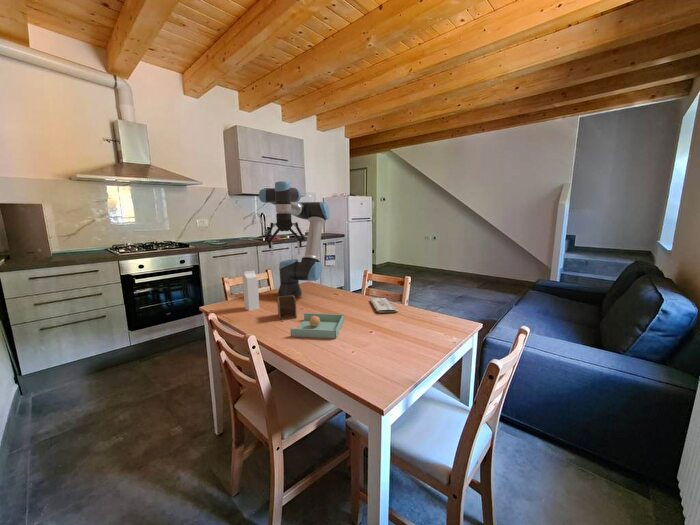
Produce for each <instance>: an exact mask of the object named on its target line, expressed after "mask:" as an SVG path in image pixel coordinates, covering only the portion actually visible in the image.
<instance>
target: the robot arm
mask: <svg viewBox="0 0 700 525" xmlns="http://www.w3.org/2000/svg"><path fill="white" fill-rule="evenodd" d="M258 198H259V200H260V202H261V203H264V204H265V203H266V204H267V203H268V204H269V203H270V204H271V205H274V206H275V212H276V214H275V217H276V223H275V222H270V225H269V226H270V227H269V229H268V231H267V234H266V236H265V237H264V242H267V244H268V249H269V250H271V251H270V252H271V256H273V255H274V250H273V240H274V238H275V237H276V236H277V235H278V233H279V232H289V231H290V232H291V233H292V235H293V236H294V237H295V238H296V239H297V240H298V241H297V243H296V244H297V254H298V255H300V254H301V251H300V250H301V248H302V245H303V244H302V243H303V241H305V240H306V245H305V250H304V255H303V257H301V260H300V261H299V260H298V259H297V258H292V259H286V260H283V261H282V260H281V261H280V262H279V265H278V266H279V267H278V269H279V288H278V291H277V297H279V296H290V295H294V297H295V298H299V297H300V296H302V295H303V292H302V288H301V286H300V282H299V281H307V282H316V281H318V280H319V279H320V277H321V276H322V271H323V269H322V268H323V265H322V262H320V261H321V260H320V259H319V254H320V253H319V252H320V246H321V239H322V233H323V225H325V224H326V220H329V219H330V217H331V213H330V207H329V205H328V203H327V202H326V201H309V202H308V201H301V202H300V200H301V198H302V192H301V190H299V189H298V188H296V187H291V183H290V182H289V181H281V180H280V181H275V183H274V187H273V188H272V187H270V188H267V187H266V188H261V189H259V192H258ZM292 216H294V217H296V218H298V219H301V220H306V221H308V222H309V227H308V233H307V238H305V236H304V234H303V233H302V231H301V228H300V227H299V222H296V221H295V222H292V220H293V219H292ZM275 226H276V228H277V229H276V230H275V232H274V233H273V234H272V235H271V232H272V230H273V228H274V227H275ZM292 227H294V228H295V229H296V231H297V232H298V234H297V233H296V232H295V231H294V229H292ZM270 235H271V236H270ZM299 236H300V237H299ZM269 237H270V238H269Z"/></svg>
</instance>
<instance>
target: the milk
mask: <svg viewBox="0 0 700 525" xmlns="http://www.w3.org/2000/svg"><path fill="white" fill-rule="evenodd" d="M258 280H259V279H258V275H257V274H256V273H255V269H253V270H247V271H244V273H243V275H242V289H243V300H244V301H243V302H244V309H245V310H246V311H249V312H251V311H256V310H260V296H259V283H258V282H259V281H258Z"/></svg>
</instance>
